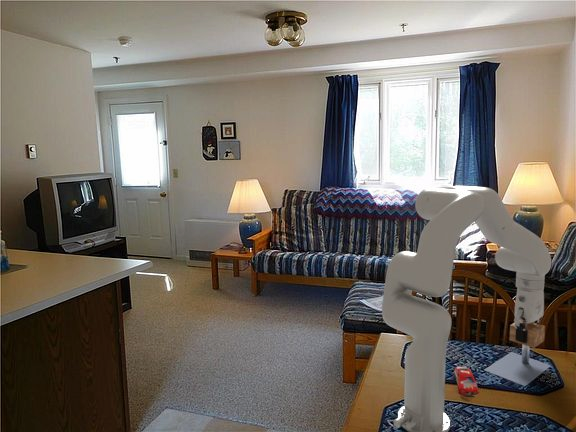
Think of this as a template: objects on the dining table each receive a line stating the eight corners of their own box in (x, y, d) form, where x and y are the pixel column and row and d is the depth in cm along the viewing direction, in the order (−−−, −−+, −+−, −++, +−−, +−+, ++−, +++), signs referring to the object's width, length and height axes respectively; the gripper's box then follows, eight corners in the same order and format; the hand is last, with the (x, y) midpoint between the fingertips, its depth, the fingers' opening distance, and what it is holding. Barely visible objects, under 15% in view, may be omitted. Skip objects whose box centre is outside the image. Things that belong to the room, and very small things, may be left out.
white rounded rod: (526, 364, 133) (529, 331, 132) (520, 362, 135) (522, 329, 133) (529, 362, 134) (531, 329, 133) (523, 360, 136) (525, 327, 134)
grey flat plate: (524, 390, 122) (525, 386, 121) (483, 373, 131) (483, 369, 131) (550, 369, 133) (551, 365, 132) (511, 355, 142) (511, 351, 142)
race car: (479, 400, 118) (480, 387, 117) (458, 398, 119) (459, 384, 118) (471, 375, 130) (472, 363, 130) (452, 374, 132) (453, 361, 131)
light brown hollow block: (533, 348, 129) (534, 332, 128) (509, 340, 134) (510, 325, 133) (544, 340, 133) (545, 325, 132) (519, 333, 139) (520, 318, 138)
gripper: (530, 292, 123) (527, 350, 125) (555, 279, 133) (551, 333, 136) (503, 286, 128) (501, 342, 131) (529, 274, 139) (526, 326, 142)
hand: (526, 337), depth 133 cm, fingers closed on light brown hollow block, 7 cm apart
